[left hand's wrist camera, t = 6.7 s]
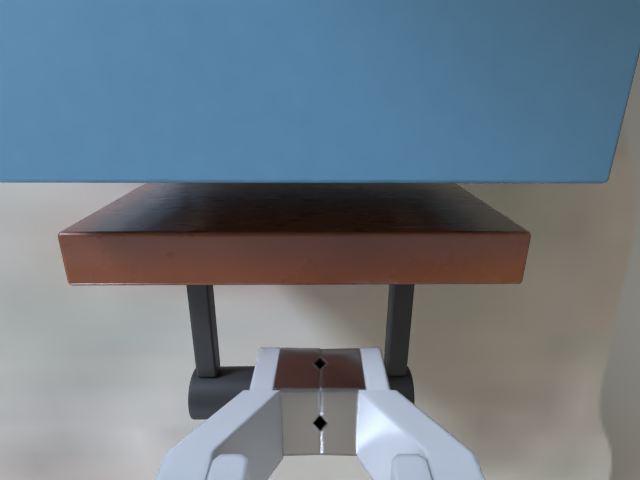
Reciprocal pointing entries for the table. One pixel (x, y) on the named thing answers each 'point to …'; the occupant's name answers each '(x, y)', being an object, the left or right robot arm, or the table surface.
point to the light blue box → (314, 90)
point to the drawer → (293, 253)
